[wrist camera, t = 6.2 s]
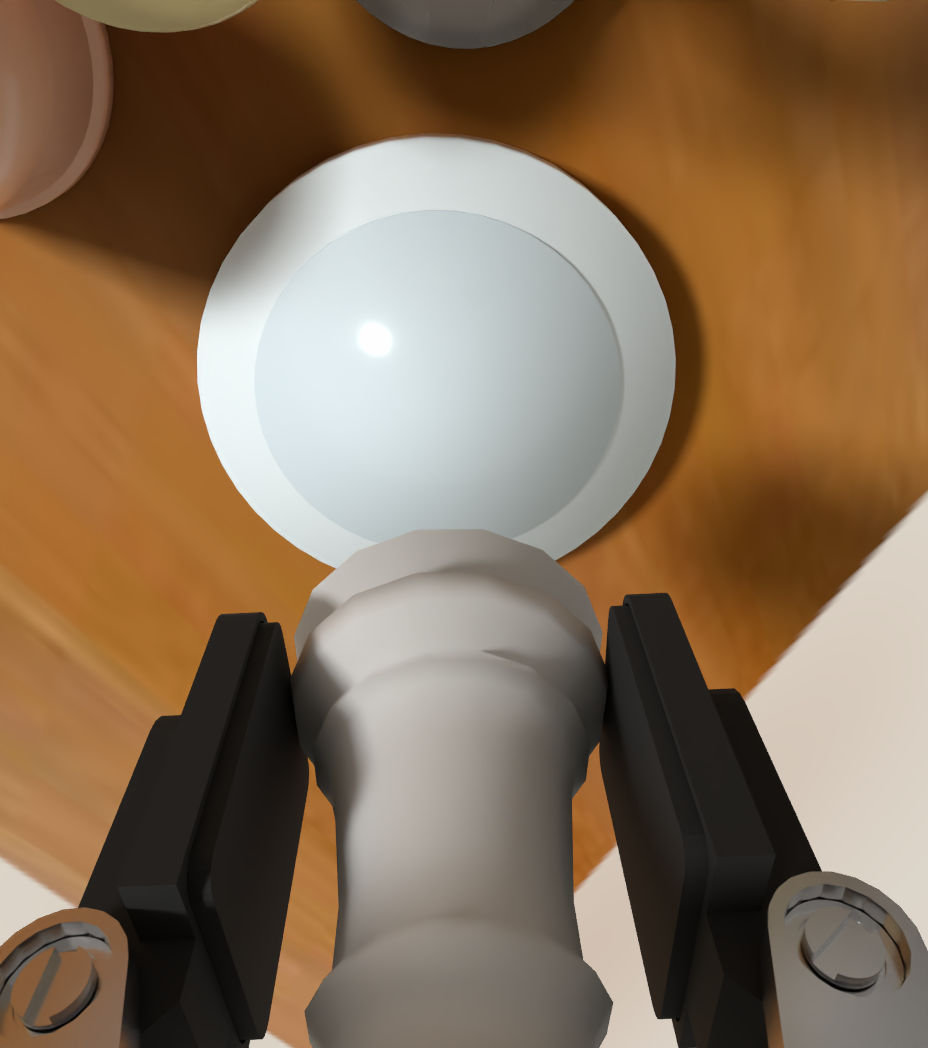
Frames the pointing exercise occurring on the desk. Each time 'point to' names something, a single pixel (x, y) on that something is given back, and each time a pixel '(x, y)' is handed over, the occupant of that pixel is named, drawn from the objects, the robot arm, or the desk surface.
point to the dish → (435, 351)
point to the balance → (401, 3)
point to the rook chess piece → (453, 792)
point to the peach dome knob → (49, 100)
